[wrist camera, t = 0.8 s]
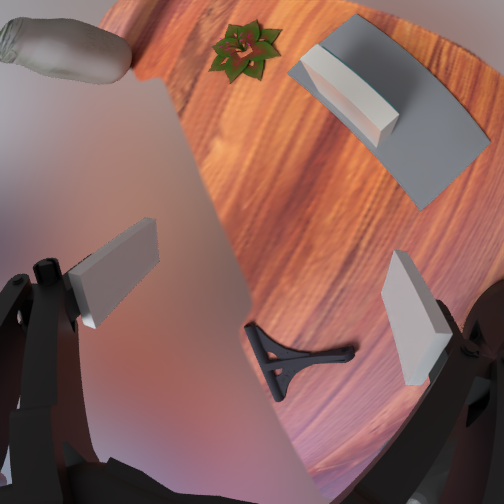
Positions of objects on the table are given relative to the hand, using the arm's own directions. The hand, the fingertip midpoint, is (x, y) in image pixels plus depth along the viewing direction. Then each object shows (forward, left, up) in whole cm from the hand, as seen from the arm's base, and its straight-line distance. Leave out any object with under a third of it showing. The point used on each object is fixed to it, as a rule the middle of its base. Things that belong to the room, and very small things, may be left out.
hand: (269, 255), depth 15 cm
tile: (+7, -12, -21) cm, 25 cm away
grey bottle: (+46, +6, -22) cm, 51 cm away
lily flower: (+25, -9, -22) cm, 35 cm away
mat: (+5, -17, -21) cm, 28 cm away
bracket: (-14, +15, -22) cm, 30 cm away
